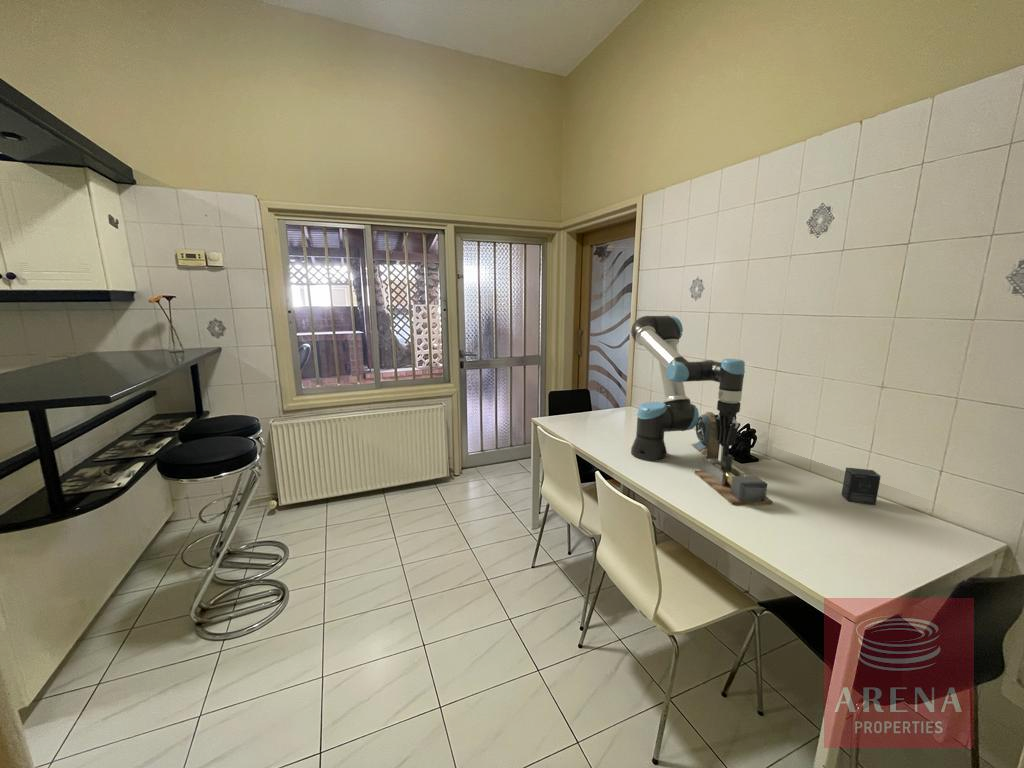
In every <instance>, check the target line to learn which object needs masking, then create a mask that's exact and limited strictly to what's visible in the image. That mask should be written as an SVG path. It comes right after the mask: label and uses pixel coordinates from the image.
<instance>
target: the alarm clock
mask: <svg viewBox="0 0 1024 768" xmlns="http://www.w3.org/2000/svg"><path fill="white" fill-rule="evenodd" d="M715 415H716V414H715V413H714V412H712V411H711V412H710V411H707V412H705V413H703V414H701V415H699V419H698V422H697V424H696V426H695V434H696V437H697V440H698V442H694V443H691V444H690V445H691V446H692V447H693V448H694V449H695V450H696V451H698V452H699V453H700V454H701V455H707V451H708V444H709V435H710V434H709V433H710V425H709V424H710V423H711V422H716V420H715Z"/></svg>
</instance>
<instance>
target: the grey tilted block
mask: <svg viewBox="0 0 1024 768" xmlns="http://www.w3.org/2000/svg"><path fill="white" fill-rule="evenodd" d="M715 464H720V465H722V462H720V461H718V458H714V459H706V458H703V459H702V468H701V469H702V471H703V472H705V473H706V474H707V475H708V476H710V477H711V478H712V479H713V480H715V481H716V482H717V483H718V484H720V485H721V486H725V480H726V473H725V472H724V471H723V470H721V469H720V468H719V467H717V466H716V465H715ZM731 473H732V474H734V475H735V476H745V472H743V471H742V470H740V469H739V468H738V467H736V466H735V465H733V464H732V467H731Z"/></svg>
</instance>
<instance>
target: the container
mask: <svg viewBox="0 0 1024 768" xmlns="http://www.w3.org/2000/svg"><path fill="white" fill-rule="evenodd" d="M709 425H710V433H709V434H710V435H709V444H708V451H707V454H706V457H705V459H714V458H718V456H719V445H720V443H719V441H718V440H716V422H711V423H710V424H709ZM729 451H730V450H729ZM729 451H728V454H729V453H730V452H729Z"/></svg>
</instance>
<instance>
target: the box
mask: <svg viewBox="0 0 1024 768" xmlns="http://www.w3.org/2000/svg"><path fill="white" fill-rule="evenodd" d="M881 477H882V476H881V475H880V474H879V473H878V472H876V471H875V470H873V469H865V468H856V467H847V466H846V467H845V471H844V477H843V483H842V489H841V496H842V497H843V498H844V499H845V500H846V501H847V502H850V503H851V502H853V503H860V504H866V505H875V506H876V505H877V499H878V493H879V492H878V491H879V488H880V483H881Z"/></svg>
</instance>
